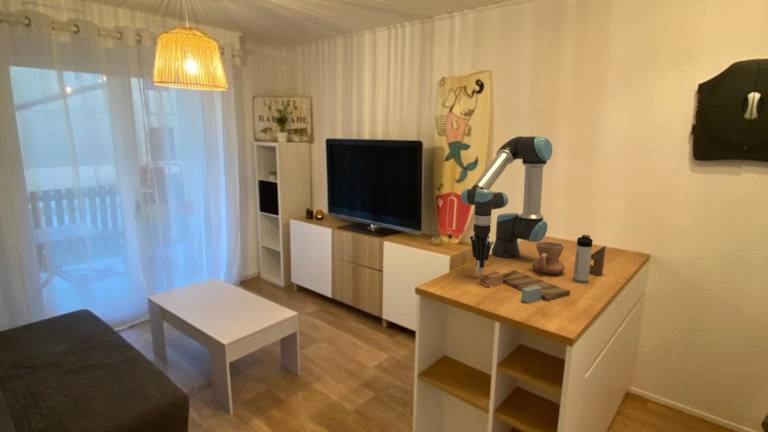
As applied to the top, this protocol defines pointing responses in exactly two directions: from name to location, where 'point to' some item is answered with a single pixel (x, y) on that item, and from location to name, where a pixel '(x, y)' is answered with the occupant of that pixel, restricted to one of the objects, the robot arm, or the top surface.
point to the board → (524, 281)
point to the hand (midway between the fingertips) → (479, 273)
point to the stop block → (531, 294)
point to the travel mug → (582, 259)
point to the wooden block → (597, 260)
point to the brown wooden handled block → (493, 277)
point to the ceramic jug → (549, 258)
